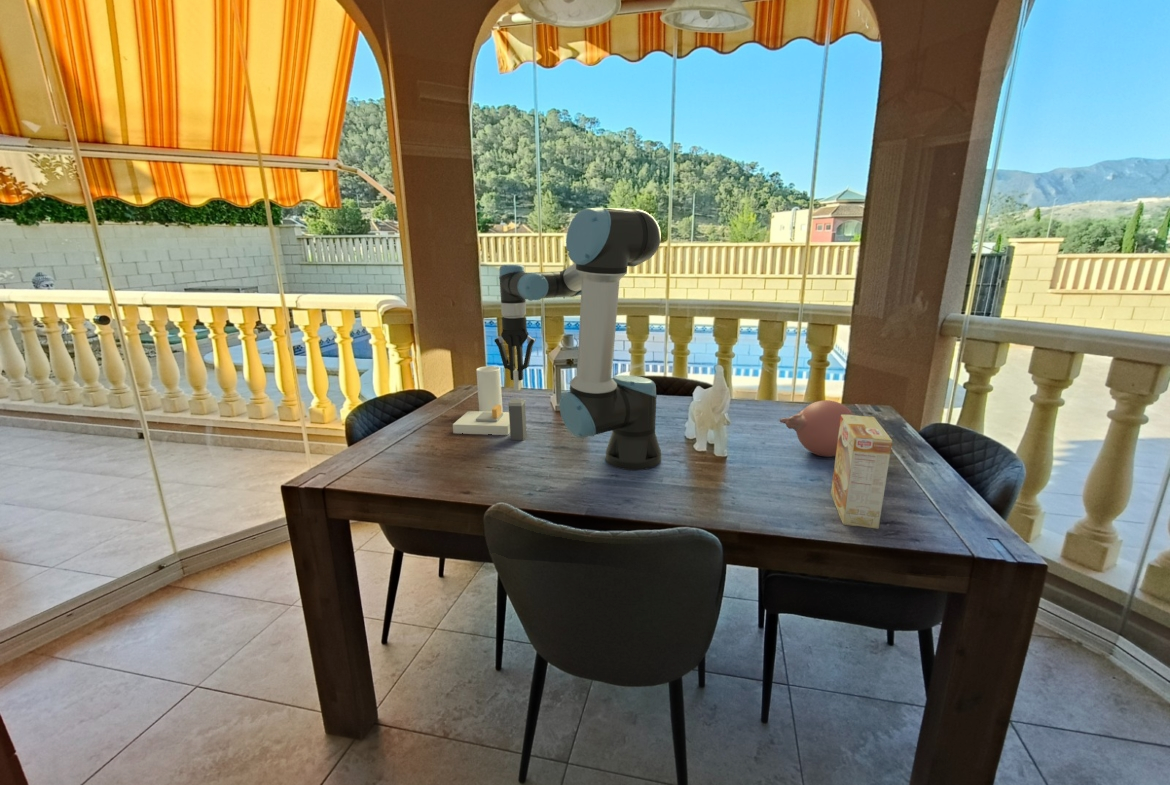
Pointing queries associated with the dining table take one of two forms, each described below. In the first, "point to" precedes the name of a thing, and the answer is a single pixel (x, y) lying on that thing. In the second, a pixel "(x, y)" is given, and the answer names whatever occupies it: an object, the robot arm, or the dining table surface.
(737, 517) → the dining table surface
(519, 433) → the plug
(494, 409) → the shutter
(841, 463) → the coffeecake box
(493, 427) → the socket plate
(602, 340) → the robot arm
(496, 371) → the cup
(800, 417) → the pomegranate
